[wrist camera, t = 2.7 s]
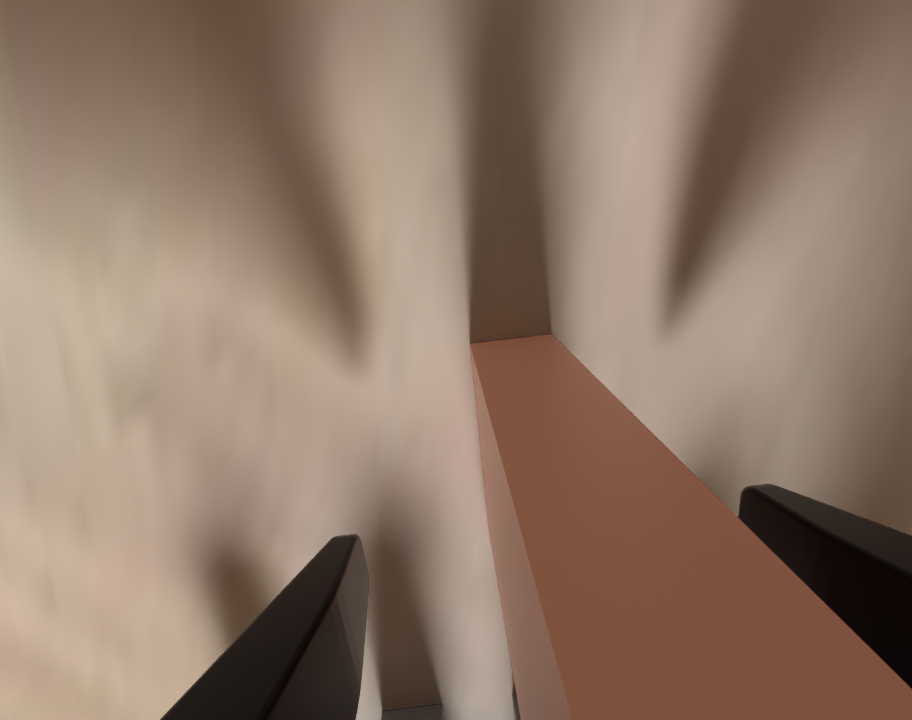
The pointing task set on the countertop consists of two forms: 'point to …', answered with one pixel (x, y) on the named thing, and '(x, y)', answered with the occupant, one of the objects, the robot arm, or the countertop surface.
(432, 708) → the domino
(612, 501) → the domino
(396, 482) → the countertop surface
